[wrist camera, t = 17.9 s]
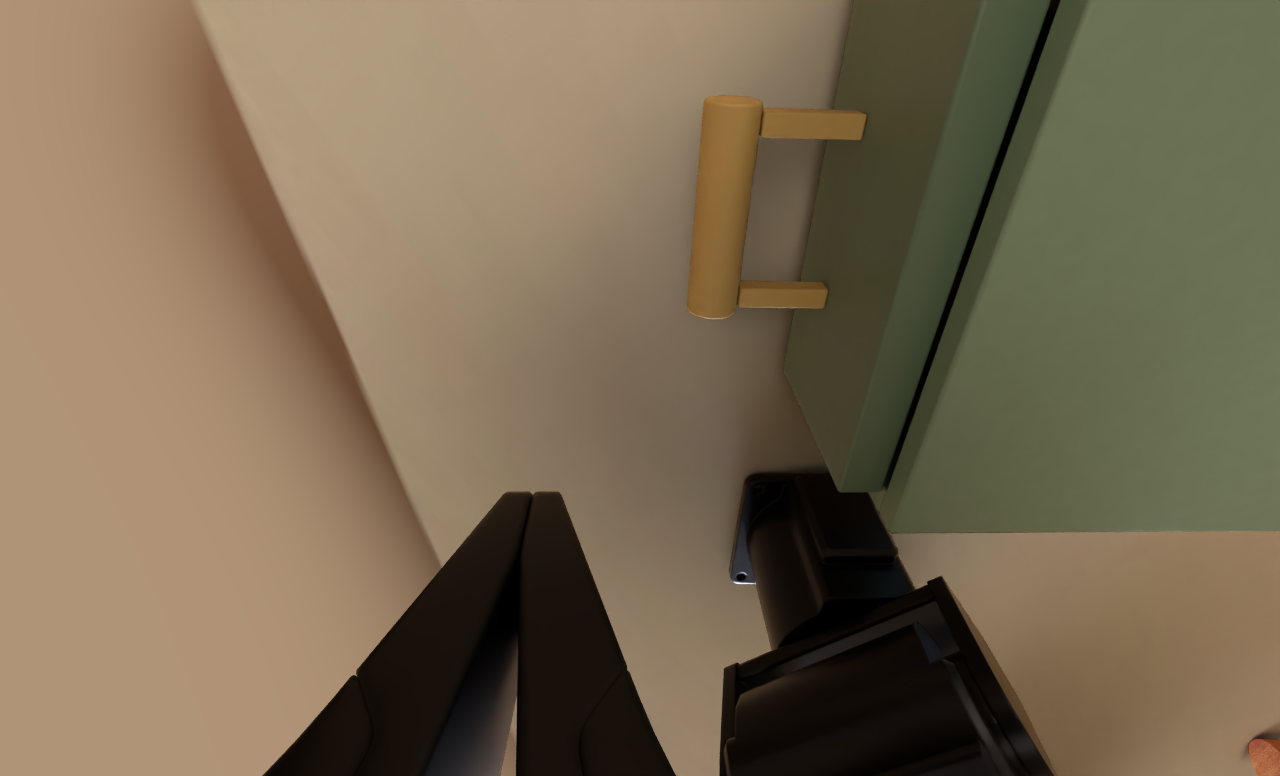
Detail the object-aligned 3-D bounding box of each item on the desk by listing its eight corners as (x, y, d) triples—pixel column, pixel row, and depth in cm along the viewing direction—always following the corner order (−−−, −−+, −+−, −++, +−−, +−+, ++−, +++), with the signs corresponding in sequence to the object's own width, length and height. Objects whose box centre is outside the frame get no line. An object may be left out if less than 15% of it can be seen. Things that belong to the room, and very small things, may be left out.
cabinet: (805, 371, 22) (888, 534, 15) (906, -95, 15) (1154, -171, 8) (1152, 373, 23) (1378, 531, 16) (1419, -71, 15) (2050, -124, 9)
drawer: (672, 368, 21) (692, 494, 16) (704, -77, 14) (759, -121, 9) (1119, 372, 22) (1280, 492, 16) (1355, -48, 15) (1762, -72, 10)
